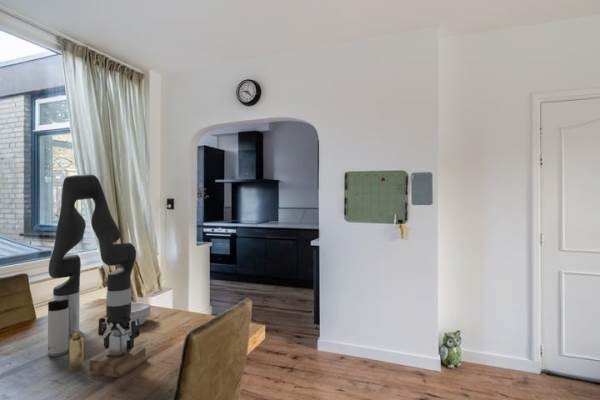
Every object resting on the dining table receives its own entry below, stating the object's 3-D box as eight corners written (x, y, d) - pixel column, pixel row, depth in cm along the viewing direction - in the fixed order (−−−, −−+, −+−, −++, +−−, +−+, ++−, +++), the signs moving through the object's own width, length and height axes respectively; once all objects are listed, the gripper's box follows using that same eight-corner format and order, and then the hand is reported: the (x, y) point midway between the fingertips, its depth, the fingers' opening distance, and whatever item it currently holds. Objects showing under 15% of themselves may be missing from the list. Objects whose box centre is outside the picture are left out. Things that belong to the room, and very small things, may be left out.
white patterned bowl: (118, 319, 159) (118, 302, 159) (153, 317, 162) (153, 300, 162) (108, 331, 144) (108, 313, 144) (146, 329, 147) (146, 311, 147)
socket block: (89, 373, 110) (89, 360, 110) (116, 356, 122) (116, 344, 122) (121, 377, 107) (121, 363, 107) (145, 359, 119) (145, 347, 119)
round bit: (66, 370, 111) (66, 335, 111) (76, 364, 115) (76, 330, 115) (76, 372, 111) (76, 336, 111) (86, 366, 115) (86, 331, 115)
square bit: (109, 365, 113) (109, 330, 113) (117, 360, 117) (117, 325, 117) (119, 366, 112) (119, 331, 112) (127, 361, 116) (127, 326, 116)
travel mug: (45, 358, 120) (46, 303, 120) (49, 351, 125) (49, 298, 125) (67, 355, 123) (67, 300, 122) (69, 347, 128) (69, 296, 128)
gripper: (92, 303, 112) (92, 351, 112) (129, 306, 109) (129, 355, 109) (109, 297, 119) (109, 342, 120) (144, 299, 117) (144, 346, 117)
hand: (118, 348), depth 114 cm, fingers open, 8 cm apart
